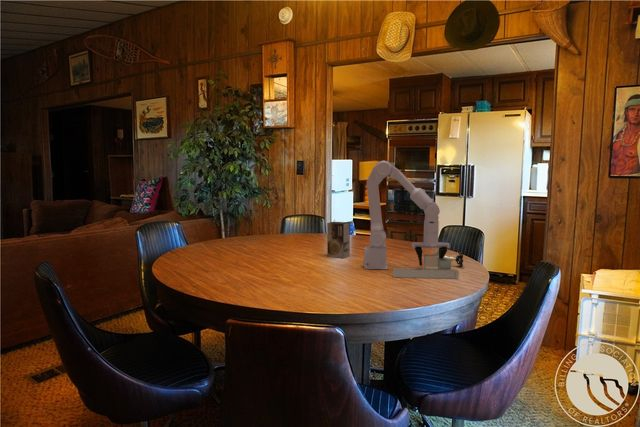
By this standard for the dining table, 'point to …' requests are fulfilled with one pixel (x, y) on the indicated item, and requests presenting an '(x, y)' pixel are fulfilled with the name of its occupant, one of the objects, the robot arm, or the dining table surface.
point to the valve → (458, 258)
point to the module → (430, 261)
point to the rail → (429, 271)
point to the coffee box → (338, 239)
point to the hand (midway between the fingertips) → (430, 265)
